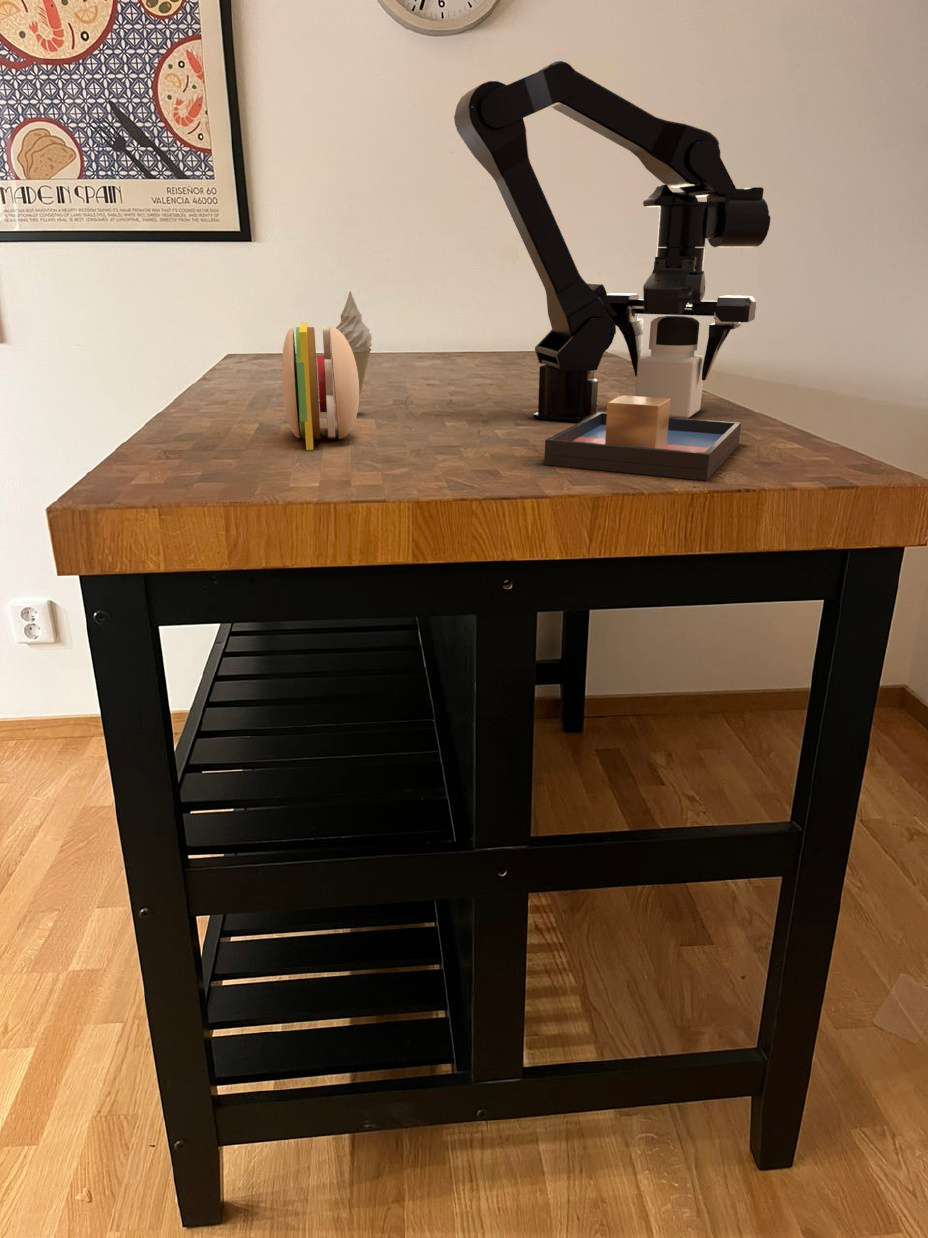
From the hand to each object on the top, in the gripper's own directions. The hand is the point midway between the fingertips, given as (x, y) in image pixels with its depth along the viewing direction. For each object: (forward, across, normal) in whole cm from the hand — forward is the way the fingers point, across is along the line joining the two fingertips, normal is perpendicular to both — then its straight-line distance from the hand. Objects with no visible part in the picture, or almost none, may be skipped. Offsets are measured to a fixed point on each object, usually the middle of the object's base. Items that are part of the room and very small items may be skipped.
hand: (670, 378), depth 119 cm
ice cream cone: (+4, -36, -19) cm, 41 cm away
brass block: (+3, +4, -31) cm, 32 cm away
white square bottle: (+5, 0, 0) cm, 5 cm away
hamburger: (+4, -31, -34) cm, 46 cm away
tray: (+4, +4, -27) cm, 28 cm away
